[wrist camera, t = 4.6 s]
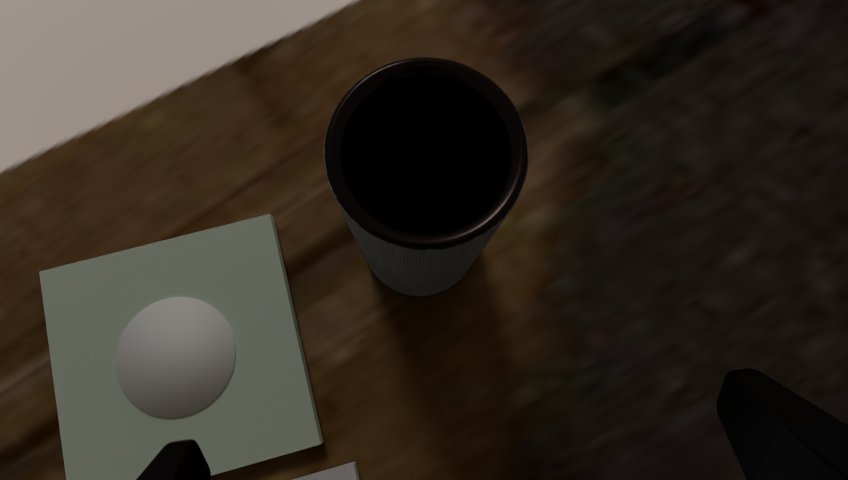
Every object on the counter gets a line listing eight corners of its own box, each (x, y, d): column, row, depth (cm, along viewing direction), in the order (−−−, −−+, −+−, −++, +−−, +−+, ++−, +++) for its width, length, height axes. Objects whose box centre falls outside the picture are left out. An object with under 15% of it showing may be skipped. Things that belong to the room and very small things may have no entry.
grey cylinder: (490, 211, 22) (557, 95, 12) (451, 314, 21) (488, 282, 11) (388, 172, 22) (370, 26, 12) (346, 272, 21) (288, 205, 11)
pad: (323, 441, 20) (320, 445, 19) (81, 510, 19) (69, 516, 19) (273, 217, 22) (269, 213, 21) (49, 273, 21) (37, 271, 20)
